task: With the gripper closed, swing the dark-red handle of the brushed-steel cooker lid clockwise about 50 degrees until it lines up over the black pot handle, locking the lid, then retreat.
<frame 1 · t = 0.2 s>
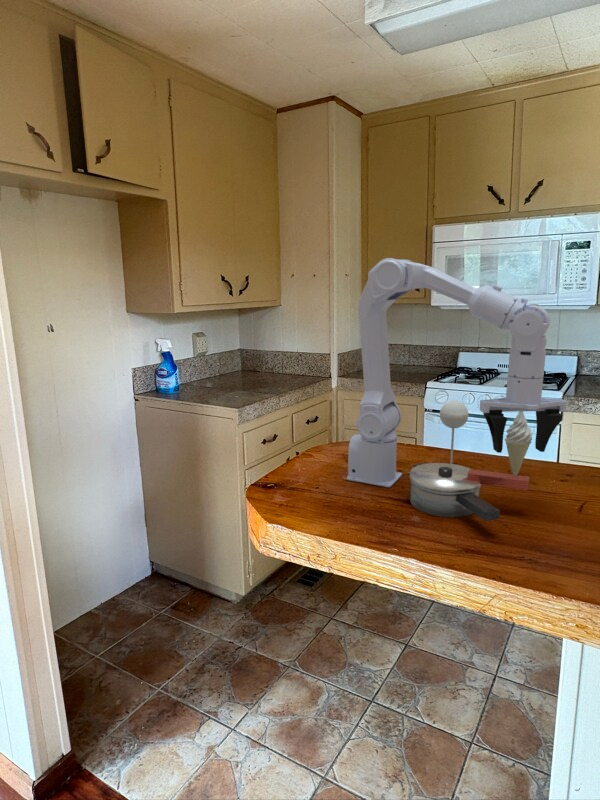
hand: (518, 450, 94), 10 cm above the table, fingers open, 7 cm apart
pot: (443, 502, 97), on the table
ice cream cone: (514, 478, 109), on the table
lollipop: (450, 468, 115), on the table
lid: (467, 476, 94), point 6 cm above the table, hinge at 5.0°
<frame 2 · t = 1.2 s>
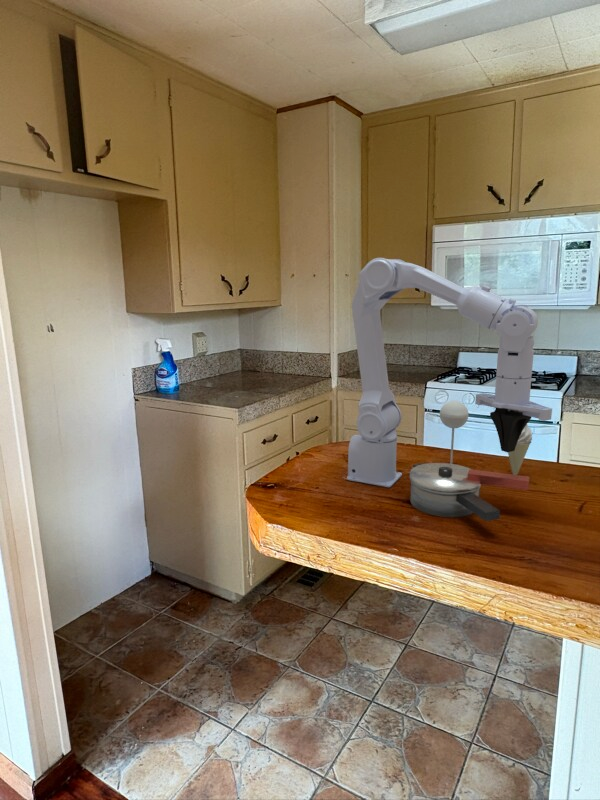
hand: (507, 450, 95), 10 cm above the table, fingers closed
nothing on the table moved.
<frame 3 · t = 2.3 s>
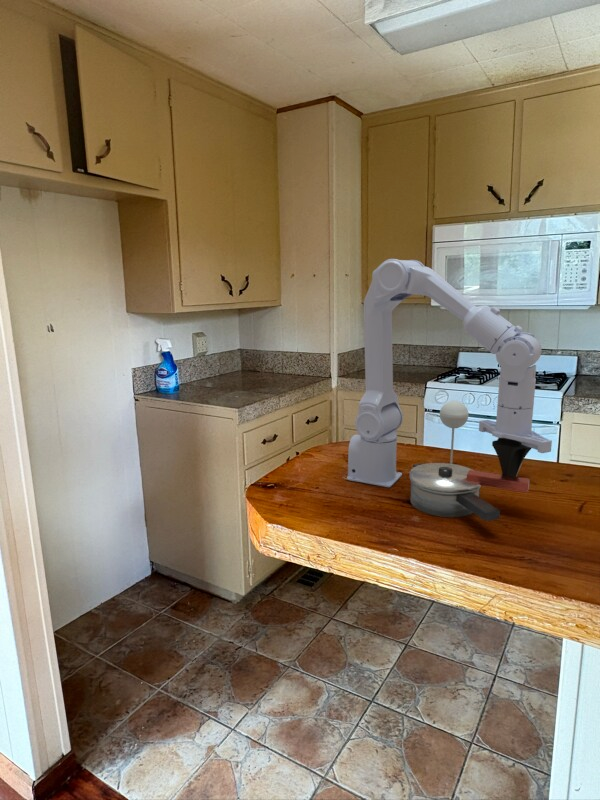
hand: (509, 480, 93), 5 cm above the table, fingers closed, pressing on lid
lid: (467, 477, 94), point 6 cm above the table, hinge at 0.4°, touching gripper
everything else where it was.
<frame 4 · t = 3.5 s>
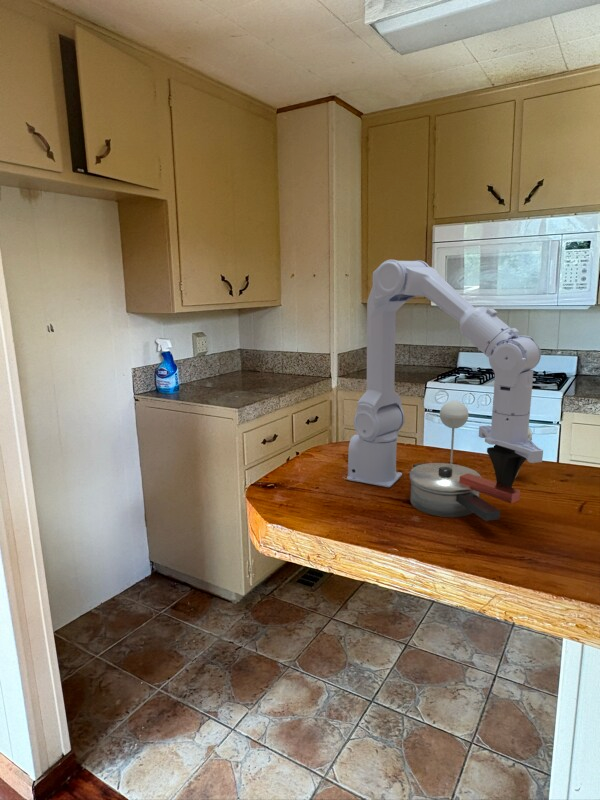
hand: (504, 489, 89), 5 cm above the table, fingers closed, pressing on lid
lid: (463, 479, 93), point 6 cm above the table, hinge at -25.1°, touching gripper
everything else where it was.
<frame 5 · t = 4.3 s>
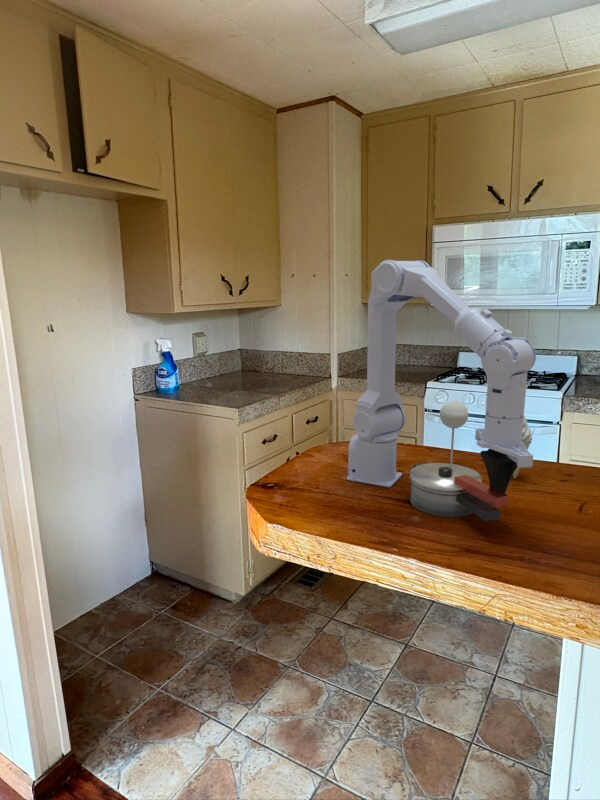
hand: (498, 493, 87), 5 cm above the table, fingers closed, pressing on lid
lid: (459, 480, 92), point 6 cm above the table, hinge at -38.4°, touching gripper
everything else where it was.
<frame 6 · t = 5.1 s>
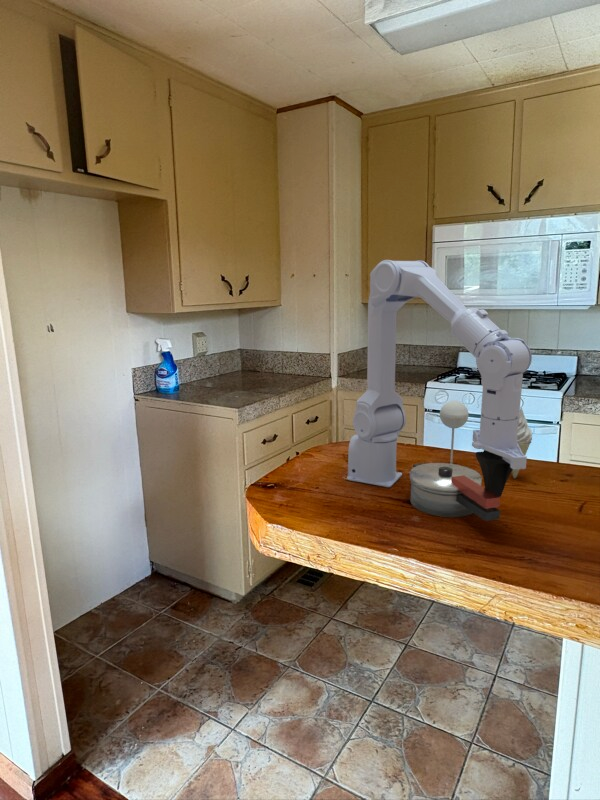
hand: (493, 495, 87), 5 cm above the table, fingers closed
lid: (457, 481, 92), point 6 cm above the table, hinge at -45.5°, touching gripper
everything else where it was.
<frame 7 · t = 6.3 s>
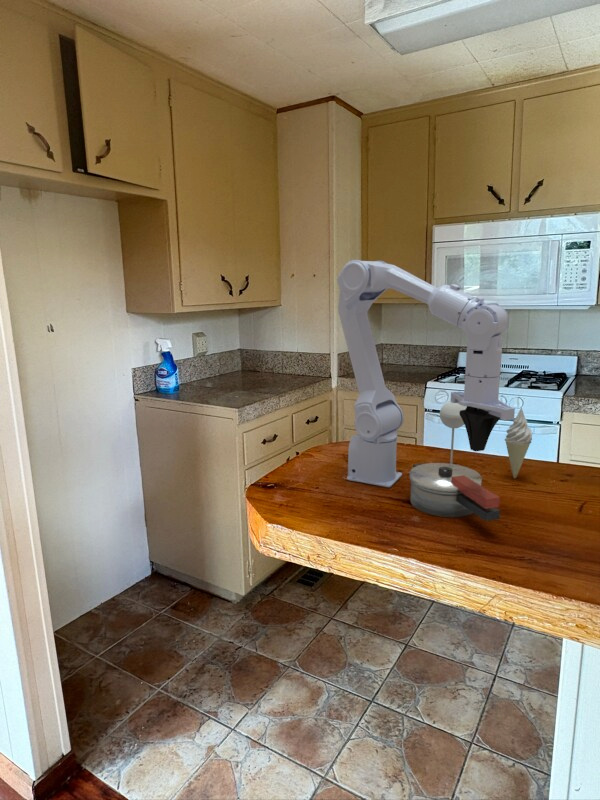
hand: (477, 449, 94), 10 cm above the table, fingers closed
lid: (457, 481, 92), point 6 cm above the table, hinge at -45.6°
everything else where it was.
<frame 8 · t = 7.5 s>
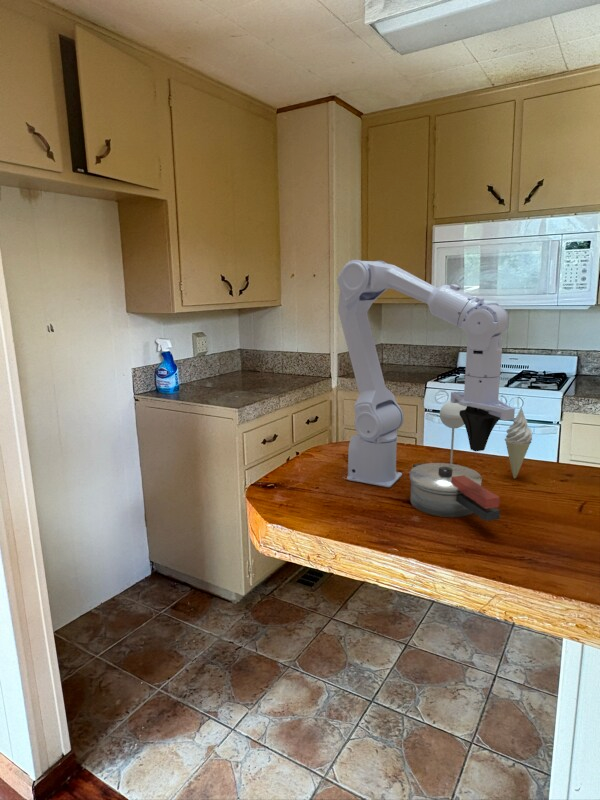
hand: (477, 449, 94), 10 cm above the table, fingers closed
nothing on the table moved.
at the end: lid at -46° (first picture: +5°) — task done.
